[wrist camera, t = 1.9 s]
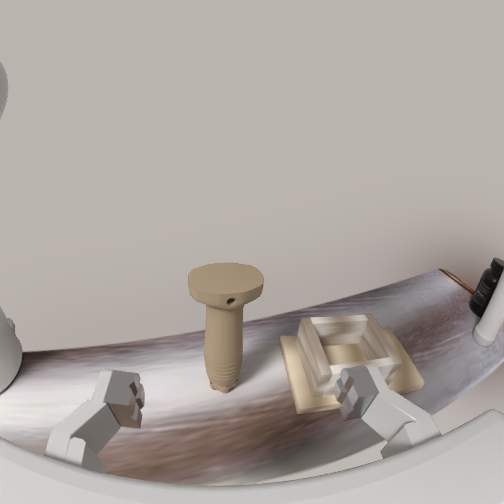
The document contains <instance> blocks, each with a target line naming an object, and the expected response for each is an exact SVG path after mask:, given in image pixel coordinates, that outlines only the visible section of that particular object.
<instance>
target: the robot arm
mask: <svg viewBox="0 0 504 504" xmlns="http://www.w3.org/2000/svg"><path fill="white" fill-rule="evenodd" d="M7 95H8V80H7V75H6V72H5V69H4V67H3V65H2V64H1V62H0V118H1V116H2V114H3V111H4V108H5V104H6V101H7ZM21 361H22V347H21V344H20V341H19V340H18V338H17V337H16V335H15V325H14V323H13V321H12V320H11V319H9V318H6V316H5V314H4V312H3V311H2V309H1V307H0V392H2V391H3V390H4V389H5V388H6V387H7V386H8V385H9V384H10V383H11V382H12V380H13V379H14V377H15V376H16V374H17V372H18V370H19V368H20V365H21ZM334 393H335V398H336V400H337V401H338V402H339V403H340V404H341V406H340V411H341V414H342V417H343V420H344V421H346V420H351V419H356V418H361V419H362V420H363V421H365V422H366V423H367V424H368V425H369V426H370V427H371V428H373V429H374V430H375V431H376V432H377V433H378V434H379V435H381V436H382V437H383V438H384V439H385V440H386V441H388V442H389V443H388V444H387V445H386V446H385V447H384V448H383V449H382V450H381V454H382V457H383V459H382V460H378V461H375V462H372V463H369V464H366V465H362V466H358V467H355V468H351V469H347V470H343V471H339V472H334V473H330V474H326V475H320V476H315V477H310V478H304V479H298V480H291V481H283V482H275V483H265V484H253V485H232V486H201V485H181V484H168V483H158V482H150V481H143V480H136V479H130V478H124V477H119V476H114V475H109V474H106V467H107V465H106V464H105V463H104V462H103V461H102V460H101V459H100V457H99V456H98V455H97V454H98V453H99V452H100V451H101V450H102V448H103V447H104V446H105V445H106V444H107V443H108V442H109V440H110V439H111V438H112V437H113V436H114V435H115V434H116V432H117V431H118V430H119V429H120V428H121V427H130V428H139V429H140V427H141V420H142V414H141V411H140V409H141V408H142V407H143V406H144V400H145V393H144V388H143V385H142V384H140V376H139V373H131V372H123V371H116V370H109V369H102V370H101V372H100V374H99V377H98V380H97V383H96V387H95V390H94V393H93V396H92V400H87V401H86V402H85V403H84V404H82V405H81V406H80V407H79V408H78V409H76V410H75V411H74V412H73V413H72V414H70V415H69V416H68V417H67V418H65V419H64V420H63V421H62V422H61V423H59V424H58V425H57V426H56V427H55V428H53V429H52V431H51V434H50V437H49V441H48V444H47V447H46V451H45V455H41V454H38V453H36V452H33V451H31V450H28V449H26V448H23V447H21V446H19V445H16V444H14V443H12V442H10V441H8V440H6V439H4V438H2V437H0V504H504V414H503V413H501V412H499V411H497V410H494V409H491V410H488V411H486V412H484V413H482V414H481V415H479V416H477V417H476V418H474V419H472V420H471V421H469V422H467V423H465V424H463V425H461V426H459V427H458V428H456V429H454V430H452V431H450V432H448V433H446V434H444V435H441V433H440V431H439V429H438V427H437V425H436V424H435V422H434V420H433V418H432V416H431V414H429V413H428V412H426V411H424V410H423V409H421V408H420V407H418V406H417V405H415V404H413V403H412V402H410V401H409V400H407V399H406V398H404V397H402V396H401V395H399V394H398V393H396V392H395V391H390V389H389V387H388V386H387V384H386V382H385V380H384V378H383V376H382V374H381V372H380V371H379V369H378V367H377V365H375V364H370V365H364V366H363V365H362V366H356V367H350V368H344V369H342V370H341V372H340V378H339V379H338V380H337V381H336V383H335V386H334ZM120 426H121V427H120Z"/></svg>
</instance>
